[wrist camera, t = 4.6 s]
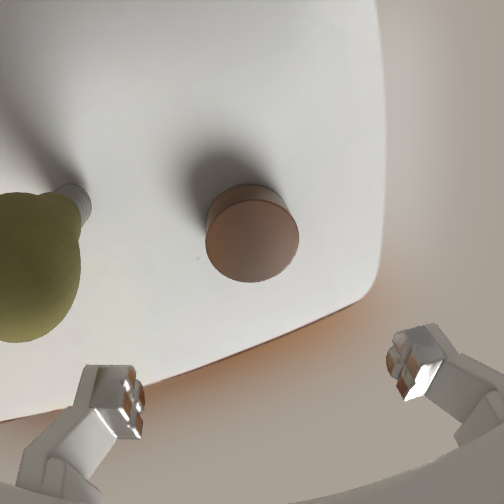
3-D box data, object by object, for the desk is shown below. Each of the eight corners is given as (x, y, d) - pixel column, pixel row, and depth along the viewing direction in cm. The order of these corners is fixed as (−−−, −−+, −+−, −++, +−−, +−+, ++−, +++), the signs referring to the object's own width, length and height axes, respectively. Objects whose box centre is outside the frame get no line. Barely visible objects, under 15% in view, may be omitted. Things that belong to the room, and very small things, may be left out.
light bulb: (40, 143, 14) (-89, 220, 5) (130, 161, 15) (40, 263, 7) (35, 232, 16) (-53, 345, 8) (115, 252, 18) (58, 392, 9)
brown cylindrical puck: (289, 181, 17) (300, 196, 15) (288, 255, 19) (297, 278, 17) (202, 187, 16) (200, 203, 14) (210, 262, 19) (210, 286, 17)
